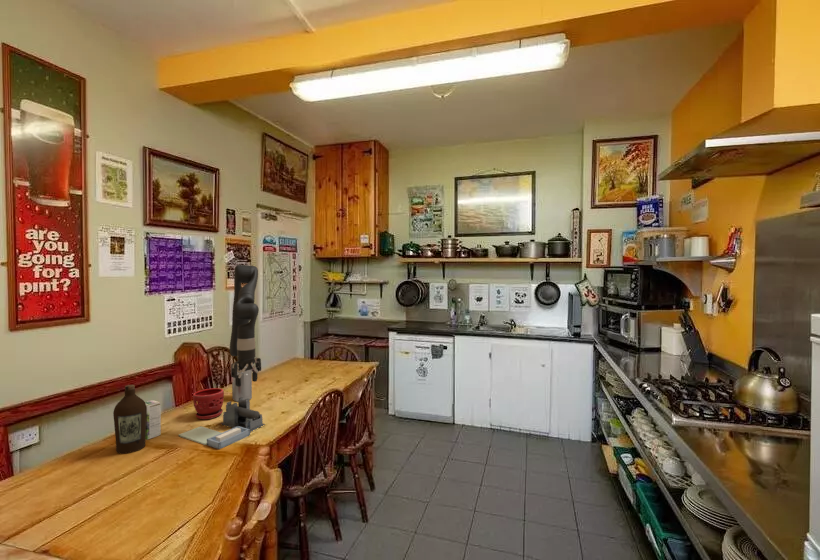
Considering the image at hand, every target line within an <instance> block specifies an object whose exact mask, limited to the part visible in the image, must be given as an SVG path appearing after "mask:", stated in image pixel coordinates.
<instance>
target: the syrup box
mask: <svg viewBox="0 0 820 560" xmlns="http://www.w3.org/2000/svg"><path fill="white" fill-rule="evenodd" d="M144 402H145V403H146V407H147V411H146V440H150V439H153V438H156V437H159V436H160V435H161V433H162V429H161V428H162V424H161V423H162V419H161V416H162V415H161V401H158V400H154V399H152V400H147V401H144Z"/></svg>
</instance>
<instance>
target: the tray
mask: <svg viewBox="0 0 820 560" xmlns="http://www.w3.org/2000/svg"><path fill="white" fill-rule="evenodd" d="M235 428H240V429H241V433H239V434H237V435H234V436H232V437H230V438H227V439H225V440H223V441H221V442H218V441H216V436H219V435H221V434H223V433H226V432H228V431H230V430H233V429H235ZM235 428H231V429H227V430H225V431H223V432H222V433H220V434H218V435H216V436H213V437H211V438H208V439H207V445H206V446H208V447H210V448H214V449H217V450H221V449H223V448H225V447H227V446H230V445H232V444H234V443H237V442H239V441H240V440H244V439H245V438H247V437H249V435H250V436H251V432H250V429H247V428H243V427H240V426H237V427H235Z"/></svg>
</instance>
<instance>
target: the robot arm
mask: <svg viewBox="0 0 820 560" xmlns="http://www.w3.org/2000/svg"><path fill="white" fill-rule="evenodd" d="M233 275H234V276H233V278H234V279H233V283H234V284H233V285H234V286H233V288H234V289H233V292H234V293H233V304H232V318H231V321H232V324H231V334H230V335H231V336H230V341H229V353H230V355H231V356H232V357H236V358H237V360H236V361H234V363H231V365H230V366H231V367H230V377H231V378H232V382H231V384H232V385H231V387H232V389H231V393H232V395H231V396H232V397H231V398H232V400H233V401H234V402H238V401H239V398H241V397H243V400H245V399H249V401H250V400H251V399H252V398H253V390H252V389H253V387H252V384H253V383H252V382H257V381H258V373H259V372H260V371H262V360H261V359H262V358H261V357H256V338H255V335H256V331H255V330H256V328H255V327H256V321H257V319H258V315H259V312H260V311H259V306H258V304H257V303H255V292H256V289H257V284H258V279H259V269H258V267H257V266H255V265H249V264H246V265H245V264H237V265H236V266H235V268H234V274H233ZM242 284H245V285H243V286H242Z"/></svg>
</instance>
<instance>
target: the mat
mask: <svg viewBox="0 0 820 560" xmlns="http://www.w3.org/2000/svg"><path fill="white" fill-rule="evenodd" d="M220 433H223V432H221V431H219V430H215V429H211V428H208V427H205V426H202V425H201V426H197V427H195V428H193V429H190V430H187V431H184V432H182V433H180V434H178V435H177V436H178V437H180V438H183V439H186V440H189V441H192V442H194V443H198V444H201V445H203V446H207V439H208V438H211V437H213V436H216V435H218V434H220Z"/></svg>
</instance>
